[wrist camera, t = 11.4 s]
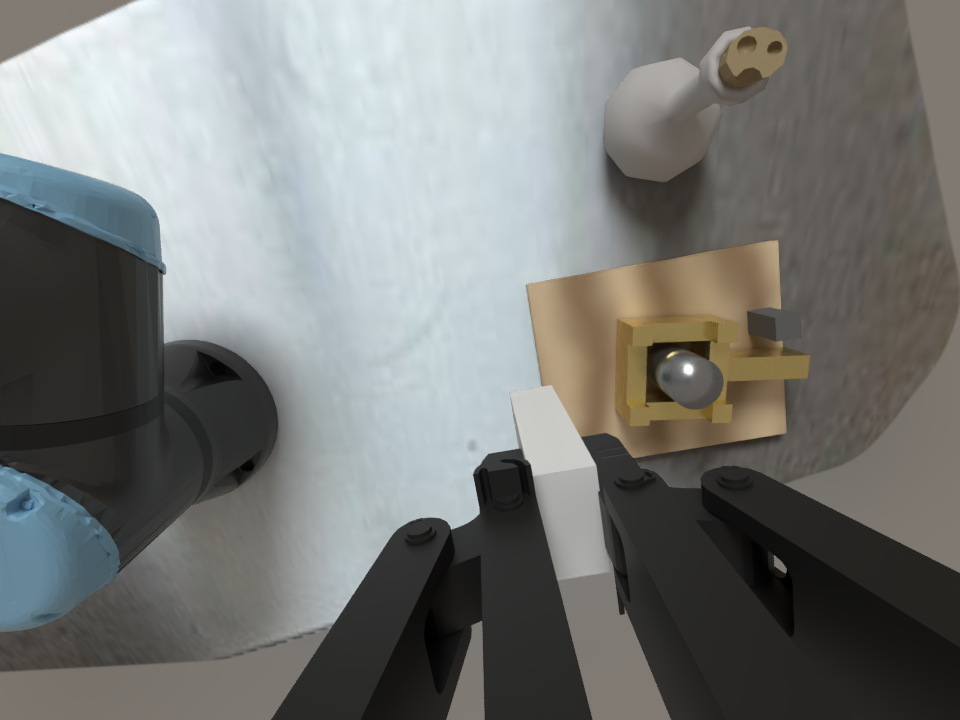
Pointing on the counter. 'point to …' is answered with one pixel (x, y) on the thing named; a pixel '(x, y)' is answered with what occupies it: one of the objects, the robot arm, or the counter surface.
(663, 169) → the potion bottle
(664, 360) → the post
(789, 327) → the block
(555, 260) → the counter surface
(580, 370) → the oak board
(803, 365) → the handled square frame
